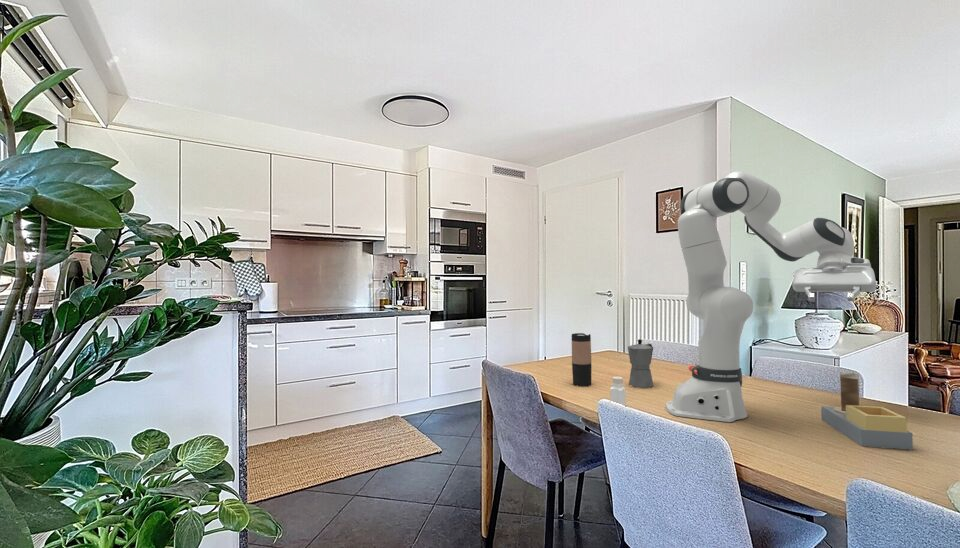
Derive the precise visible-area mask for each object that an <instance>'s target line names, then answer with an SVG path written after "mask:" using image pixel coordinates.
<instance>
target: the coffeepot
mask: <svg viewBox="0 0 960 548" xmlns="http://www.w3.org/2000/svg"><path fill="white" fill-rule="evenodd" d="M642 342H643V340H642V339H641V338H640V339H637V344H631V345H628V346H627V350H628V357H629V362H630V364H631V369H630V375H629V381H628V385H629V386H630V385H632V386H634V387H633V388H637V387H642V388H641V389H649V388H648V387H651V388H653V387H654V382H653V381H654V380H653V376H652V370H651V368H650V366H651V363H652V358H653V351H654V347H653V345H652V344H651V343H646V344H645V343H644V344H642ZM632 386H631V387H632ZM652 386H653V387H652Z"/></svg>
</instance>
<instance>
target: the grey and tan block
mask: <svg viewBox="0 0 960 548" xmlns="http://www.w3.org/2000/svg"><path fill="white" fill-rule="evenodd" d="M820 408H821V412H820V413H821V421H823V422H824V423H825V424H828V425H829V426H830V427H831V428H833V429H835V430H836V431H837V432H839V433H841V434H843V435H844V436H845V437H847V438H849V440H850V439H851V440H852V441H854V442H855V443H856V444H858V445H859V444H860V445H859V446H860V447H866V446H870V447H869V448H880V447H884V448H883V449H893V448H898V449H897V450H906V449H909V450H908V451H913V450H914V444H913V443H914V442H913V432H911V431H910V430H908V426H907V425H908V423H907V422H908V421H907V417H906V416H903V415H901V414H899V413H897V412H894V411H892V410H891V409H888V408H885V407H884V406H874V405H873V406H872V405H871V406H869V405H859V406H855V405H846V411H841V406H825V405H824V406H823V405H822V406H821V407H820Z"/></svg>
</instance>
